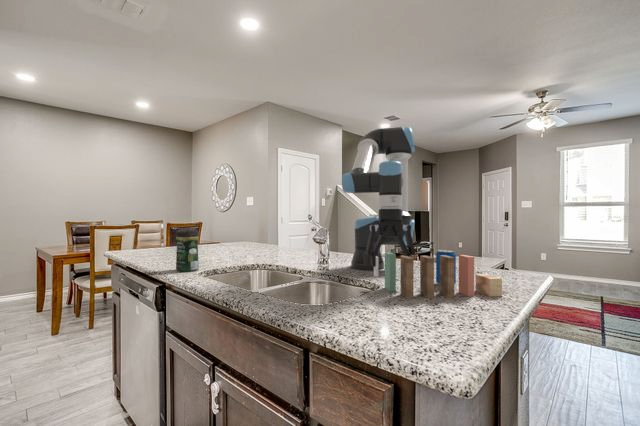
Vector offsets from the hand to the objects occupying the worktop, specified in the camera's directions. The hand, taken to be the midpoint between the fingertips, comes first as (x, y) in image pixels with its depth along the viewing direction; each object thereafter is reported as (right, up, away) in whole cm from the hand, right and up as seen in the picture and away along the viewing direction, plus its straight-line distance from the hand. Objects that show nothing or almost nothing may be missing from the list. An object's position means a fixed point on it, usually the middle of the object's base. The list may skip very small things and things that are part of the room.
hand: (390, 275), depth 104 cm
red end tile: (+22, -5, -6) cm, 24 cm away
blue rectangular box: (+21, -5, +7) cm, 23 cm away
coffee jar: (-82, -5, +34) cm, 89 cm away
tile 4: (+16, -5, -7) cm, 18 cm away
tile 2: (+3, -5, -9) cm, 10 cm away
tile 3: (+10, -5, -8) cm, 13 cm away
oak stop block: (+30, -4, -5) cm, 31 cm away
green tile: (0, -4, 0) cm, 4 cm away
